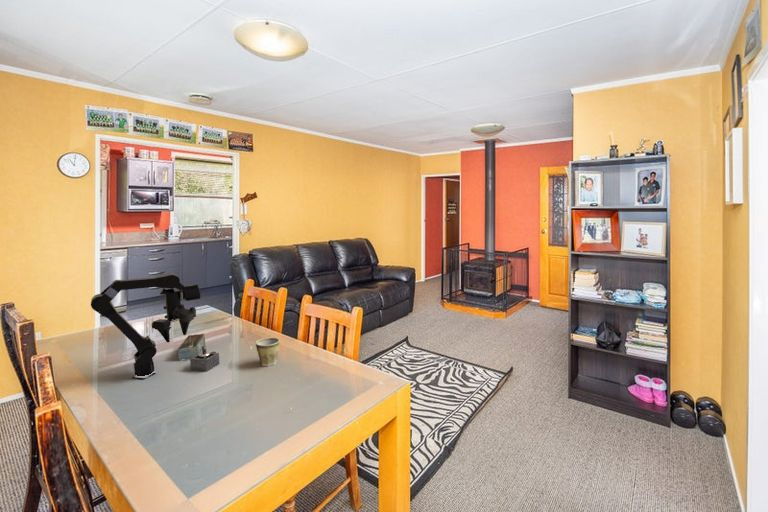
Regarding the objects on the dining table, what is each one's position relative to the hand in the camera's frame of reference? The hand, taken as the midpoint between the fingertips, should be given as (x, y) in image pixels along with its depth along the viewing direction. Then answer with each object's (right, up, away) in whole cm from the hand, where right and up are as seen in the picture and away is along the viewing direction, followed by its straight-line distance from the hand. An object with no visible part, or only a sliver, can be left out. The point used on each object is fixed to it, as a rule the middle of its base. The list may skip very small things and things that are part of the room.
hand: (176, 338), depth 165 cm
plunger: (+12, -12, +2) cm, 17 cm away
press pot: (+12, -12, +3) cm, 18 cm away
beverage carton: (-2, -11, +19) cm, 22 cm away
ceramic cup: (+39, -12, +6) cm, 41 cm away
